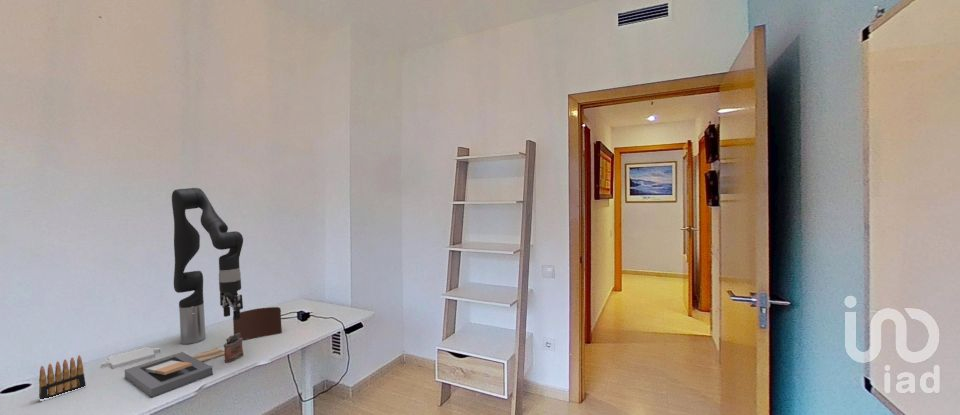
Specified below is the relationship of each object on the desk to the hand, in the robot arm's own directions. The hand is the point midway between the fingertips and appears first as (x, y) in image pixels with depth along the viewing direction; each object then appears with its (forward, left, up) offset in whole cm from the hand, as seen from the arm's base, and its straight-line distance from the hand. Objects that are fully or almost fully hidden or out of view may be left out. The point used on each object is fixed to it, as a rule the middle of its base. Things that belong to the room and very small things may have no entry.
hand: (231, 317), depth 151 cm
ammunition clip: (-24, -44, -18) cm, 53 cm away
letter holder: (-20, +20, -18) cm, 33 cm away
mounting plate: (-40, -22, -18) cm, 49 cm away
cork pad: (-13, -4, -18) cm, 22 cm away
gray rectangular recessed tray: (-6, -20, -18) cm, 27 cm away
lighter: (0, 0, -18) cm, 18 cm away
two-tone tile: (-6, -20, -14) cm, 25 cm away
